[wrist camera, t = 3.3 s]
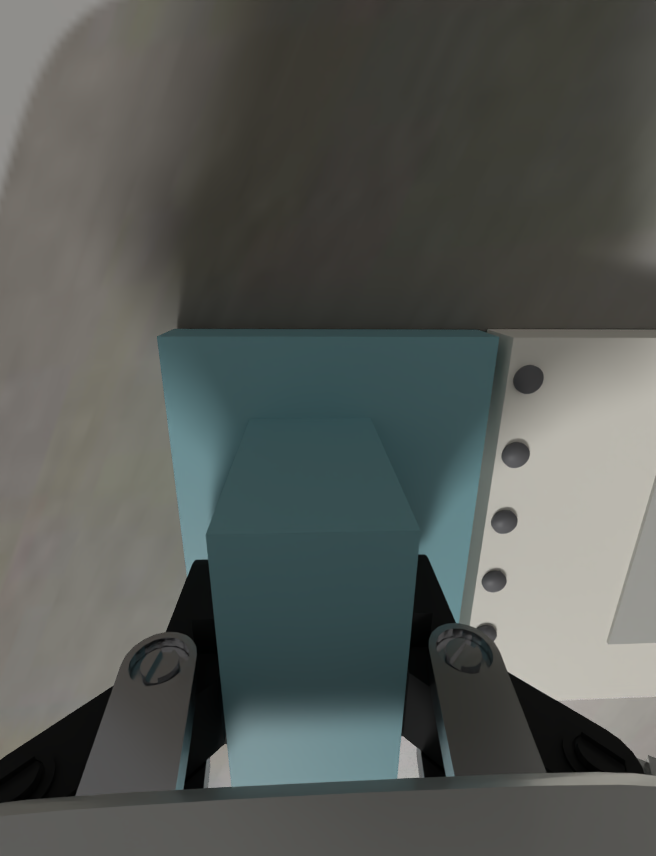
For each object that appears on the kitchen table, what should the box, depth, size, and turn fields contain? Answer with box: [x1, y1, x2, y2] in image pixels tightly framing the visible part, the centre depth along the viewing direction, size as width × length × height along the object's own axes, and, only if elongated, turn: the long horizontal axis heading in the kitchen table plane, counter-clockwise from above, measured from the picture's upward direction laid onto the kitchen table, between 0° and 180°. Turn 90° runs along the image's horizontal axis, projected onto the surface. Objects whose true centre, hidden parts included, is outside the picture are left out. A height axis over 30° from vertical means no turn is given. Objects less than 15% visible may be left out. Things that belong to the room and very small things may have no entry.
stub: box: [157, 329, 499, 787], centre depth 10 cm, size 8×12×6 cm, turn 0°
